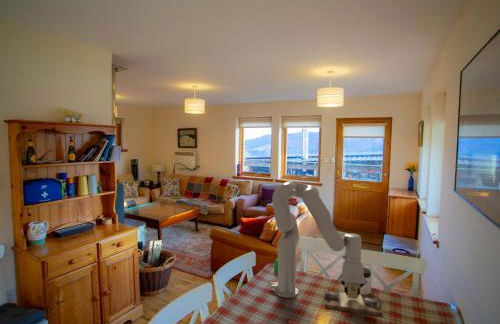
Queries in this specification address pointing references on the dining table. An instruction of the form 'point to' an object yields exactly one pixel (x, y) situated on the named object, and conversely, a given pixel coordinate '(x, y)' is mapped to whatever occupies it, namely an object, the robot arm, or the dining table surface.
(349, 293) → the brass coupler
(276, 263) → the mechanical part
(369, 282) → the jar
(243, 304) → the dining table surface
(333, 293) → the coupling jig
